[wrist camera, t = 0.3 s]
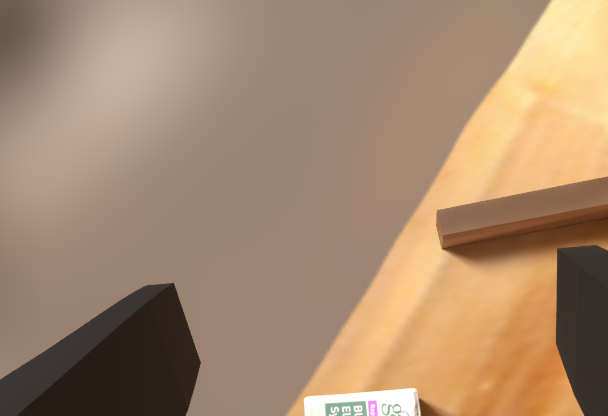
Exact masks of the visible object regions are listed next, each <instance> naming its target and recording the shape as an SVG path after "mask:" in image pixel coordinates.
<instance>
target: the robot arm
mask: <svg viewBox="0 0 608 416" xmlns="http://www.w3.org/2000/svg"><path fill="white" fill-rule="evenodd" d="M556 345H557V348H558V350H559V353H560V356H561V359H562V362H563V365H564V368H565V371H566V374H567V376H568V379H569V382H570V384H571V387H572V390H573V393H574V395H575V397H576V399H577V401H578V403H579V405H580V408H581V410H582V412H583V414H584V416H608V251H607V250H605V249H603V248H601V247H599V246H597V245H592V246H581V247H570V248H559V249H557V312H556ZM200 364H201V362H200V359H199V356H198V353H197V350H196V348H195V345H194V342H193V339H192V336H191V333H190V330H189V327H188V324H187V321H186V318H185V315H184V312H183V309H182V306H181V303H180V300H179V297H178V294H177V291H176V288H175V285H174V283H169V284H158V285H147V286H144V287H143V288H141V289H139V290H137V291H135V292H133V293H132V294H130V295H128V296H127V297H125V298H123V299H122V300H120V301H119V302H117V303H116V304H114V305H113V306H111V307H110V308H108V309H107V310H105V311H104V312H102V313H101V314H99V315H98V316H96V317H95V318H93V319H92V320H90V321H89V322H88V323H86V324H84V325H83V326H82V327H80V328H79V329H77V330H76V331H74V332H73V333H71V334H70V335H68V336H67V337H65V338H64V339H62V340H61V341H59V342H58V343H56V344H55V345H53V346H52V347H51V348H49V349H48V350H46V351H44V352H43V353H41V354H40V355H38V356H36V357H35V358H33V359H32V360H30V361H29V362H27V363H25V364H24V365H22V366H21V367H19V368H18V369H16V370H15V371H13V372H11V373H10V374H8V375H7V376H5V377H4V378H2V379H0V416H186V413H187V411H188V408H189V404H190V401H191V397H192V394H193V391H194V387H195V383H196V379H197V375H198V371H199V368H200Z"/></svg>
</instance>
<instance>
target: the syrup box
mask: <svg viewBox="0 0 608 416" xmlns="http://www.w3.org/2000/svg"><path fill="white" fill-rule="evenodd" d="M304 405H305V416H421V410H420V403H419V397H418V393H417V390H416V389H415V388H410V389H398V390H388V391H376V392H363V393H351V394H339V395H325V396H309V397H306V398H305V399H304Z"/></svg>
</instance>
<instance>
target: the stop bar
mask: <svg viewBox="0 0 608 416" xmlns="http://www.w3.org/2000/svg"><path fill="white" fill-rule="evenodd" d="M606 218H608V177H604V178H598V179H593V180H588V181H583V182H578V183H573V184H568V185H563V186H558V187H553V188H548V189H543V190H538V191H532V192H527V193H522V194H517V195H512V196H507V197H502V198H497V199H492V200H487V201H482V202H477V203H472V204H466V205H461V206H456V207H451V208H446V209H441V210H437V219H436V226H437V231H438V235H439V239H440V243H441V247H442V249H443V248H449V247H454V246H459V245H465V244H470V243H476V242H481V241H487V240H492V239H497V238H503V237H508V236H514V235H519V234H525V233H530V232H535V231H541V230H546V229H552V228H557V227H563V226H568V225H573V224H579V223H584V222H590V221H595V220H600V219H606Z"/></svg>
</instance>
